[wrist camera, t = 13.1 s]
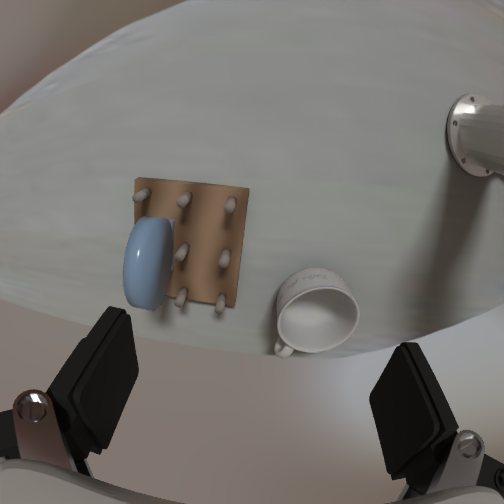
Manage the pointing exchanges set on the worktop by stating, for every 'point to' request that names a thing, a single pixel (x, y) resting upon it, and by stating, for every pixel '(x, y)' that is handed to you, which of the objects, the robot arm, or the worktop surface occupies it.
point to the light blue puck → (148, 262)
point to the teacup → (314, 312)
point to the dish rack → (199, 236)
